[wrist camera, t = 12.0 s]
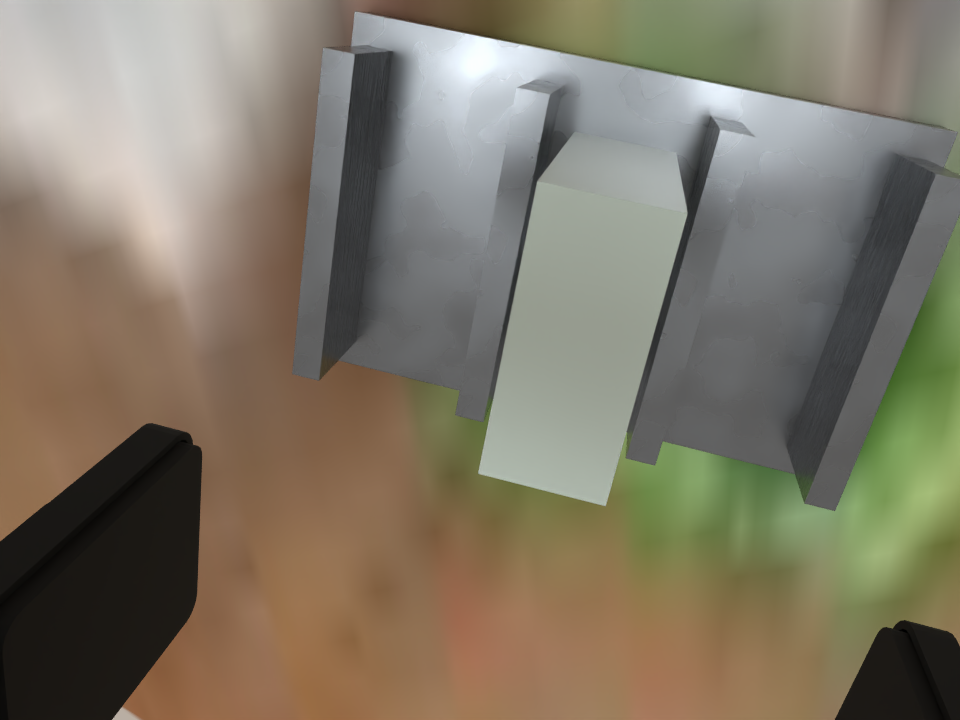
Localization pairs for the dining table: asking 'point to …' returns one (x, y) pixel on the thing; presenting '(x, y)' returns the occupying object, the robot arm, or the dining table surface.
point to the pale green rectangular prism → (584, 315)
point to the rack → (699, 259)
